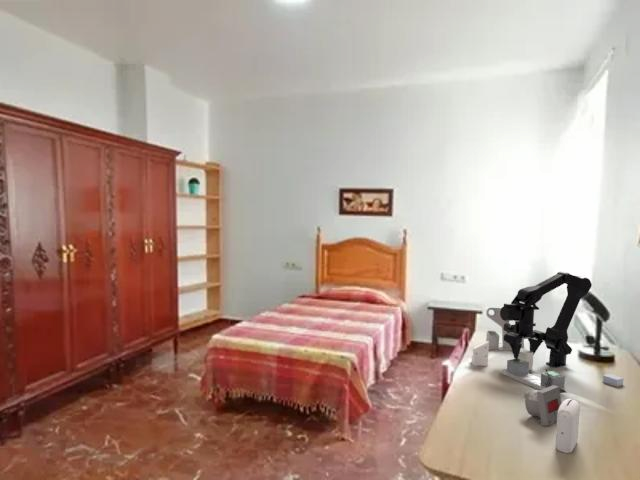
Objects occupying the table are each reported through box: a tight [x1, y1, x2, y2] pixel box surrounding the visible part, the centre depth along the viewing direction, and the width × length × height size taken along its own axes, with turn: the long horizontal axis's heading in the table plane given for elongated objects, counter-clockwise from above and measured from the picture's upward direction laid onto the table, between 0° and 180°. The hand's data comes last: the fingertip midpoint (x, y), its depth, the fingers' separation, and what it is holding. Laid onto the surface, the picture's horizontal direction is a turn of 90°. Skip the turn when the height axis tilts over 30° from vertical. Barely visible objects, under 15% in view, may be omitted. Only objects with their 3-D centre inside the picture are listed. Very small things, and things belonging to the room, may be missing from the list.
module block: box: [513, 348, 534, 371], centre depth 185 cm, size 4×6×7 cm, turn 26°
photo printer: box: [554, 398, 580, 454], centre depth 122 cm, size 10×4×12 cm, turn 140°
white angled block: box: [471, 341, 490, 367], centre depth 187 cm, size 4×10×9 cm, turn 84°
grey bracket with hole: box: [485, 307, 528, 351], centre depth 212 cm, size 17×10×18 cm, turn 80°
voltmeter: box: [523, 369, 562, 427], centre depth 145 cm, size 27×11×10 cm, turn 160°
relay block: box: [602, 373, 624, 388], centre depth 166 cm, size 5×4×4 cm
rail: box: [501, 358, 566, 394], centre depth 168 cm, size 7×22×6 cm, turn 26°
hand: (523, 357), depth 184 cm, fingers open, 9 cm apart
